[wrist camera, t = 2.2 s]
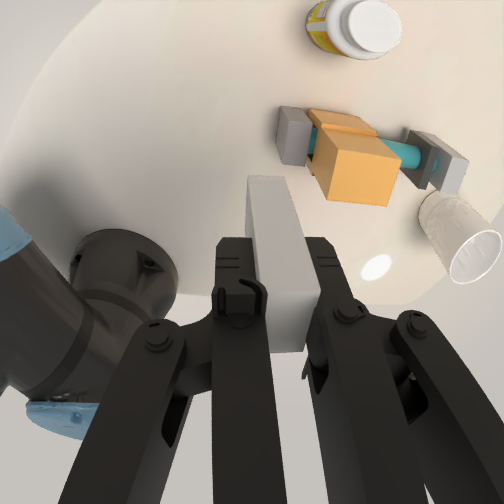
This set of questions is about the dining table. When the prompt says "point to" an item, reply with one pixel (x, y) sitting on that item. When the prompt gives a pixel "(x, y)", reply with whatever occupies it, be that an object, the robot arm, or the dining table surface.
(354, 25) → the supplement bottle
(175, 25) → the dining table surface
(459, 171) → the teal axle dumbbell
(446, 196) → the white cup
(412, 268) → the dining table surface
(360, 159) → the sleeve
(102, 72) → the dining table surface
